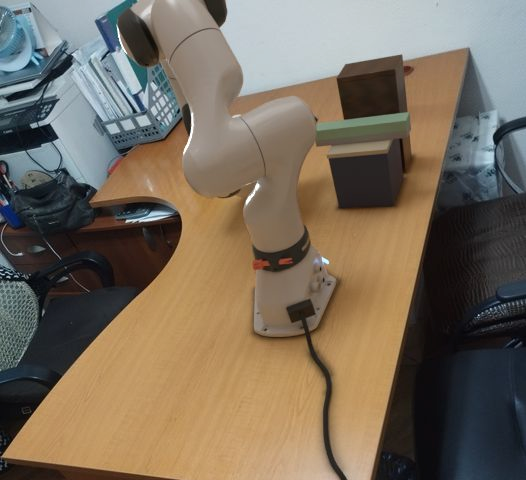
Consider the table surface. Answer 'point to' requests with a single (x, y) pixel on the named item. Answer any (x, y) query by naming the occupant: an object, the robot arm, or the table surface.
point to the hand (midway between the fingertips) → (310, 127)
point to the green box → (363, 129)
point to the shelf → (375, 93)
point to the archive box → (366, 173)
